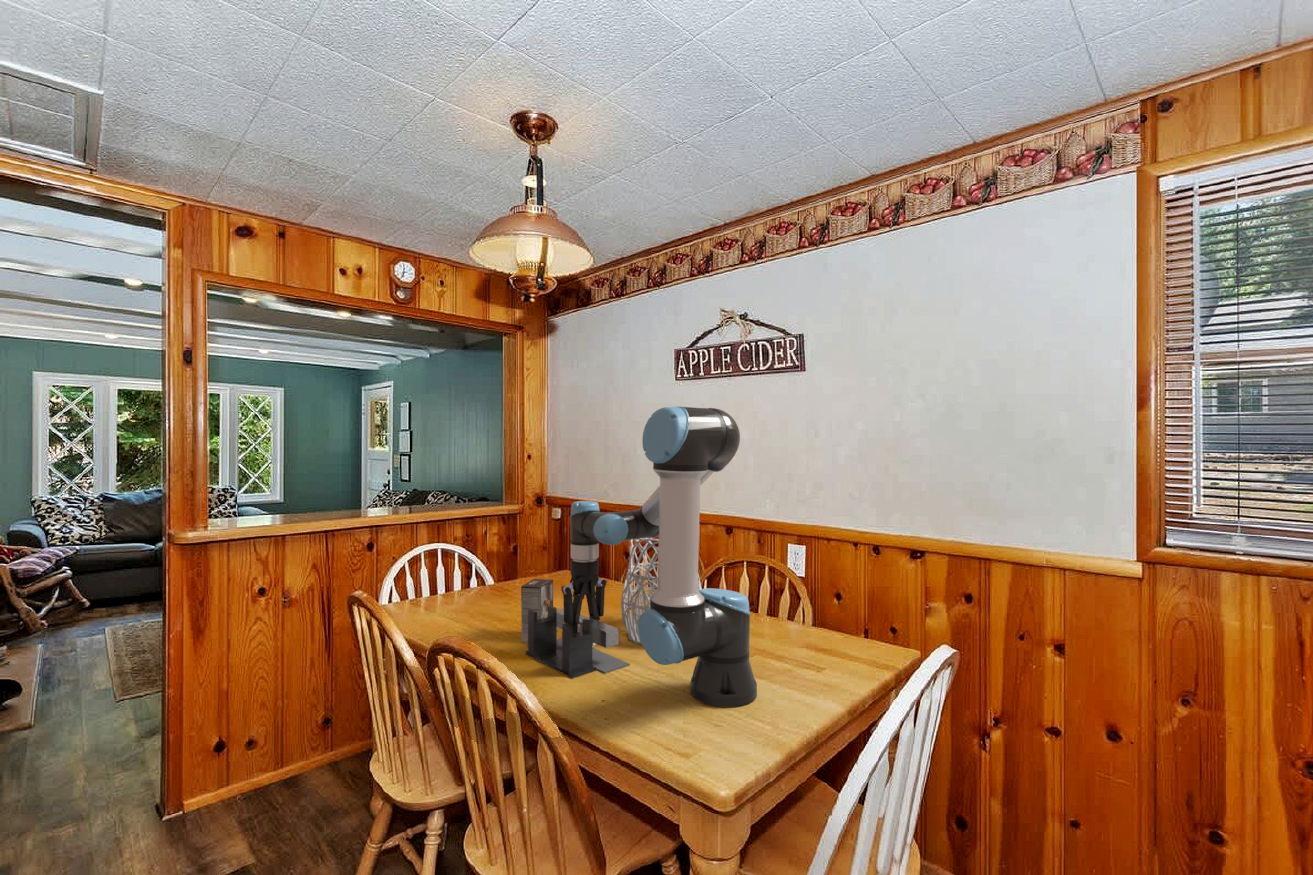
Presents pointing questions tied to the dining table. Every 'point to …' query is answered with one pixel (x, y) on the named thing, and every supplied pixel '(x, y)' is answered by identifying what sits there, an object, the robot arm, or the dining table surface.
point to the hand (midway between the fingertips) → (584, 646)
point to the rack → (574, 646)
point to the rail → (595, 630)
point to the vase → (639, 587)
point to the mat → (601, 660)
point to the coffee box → (535, 601)
